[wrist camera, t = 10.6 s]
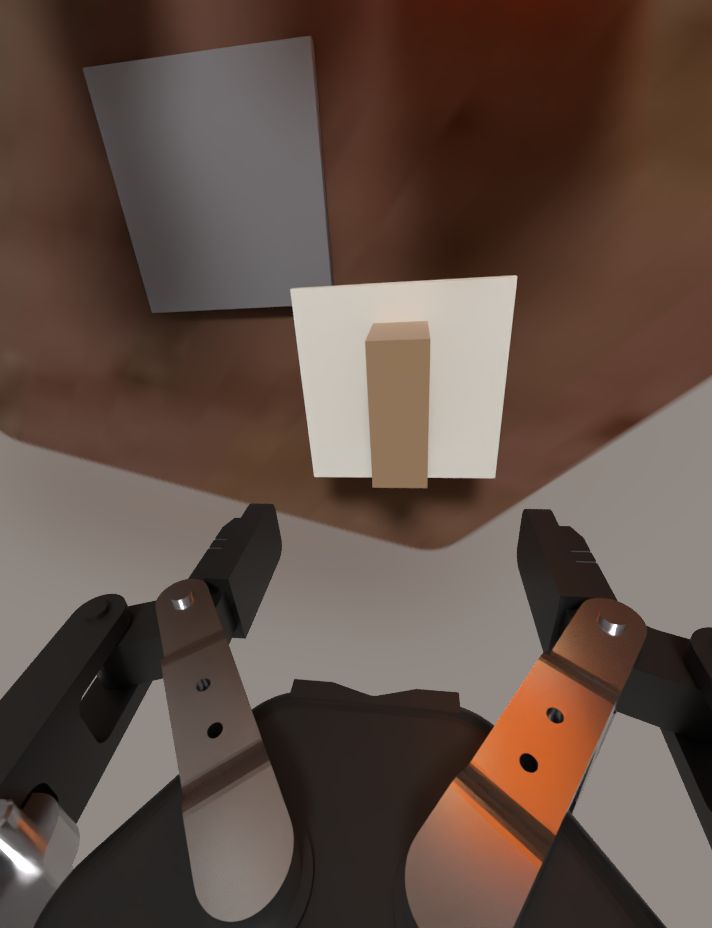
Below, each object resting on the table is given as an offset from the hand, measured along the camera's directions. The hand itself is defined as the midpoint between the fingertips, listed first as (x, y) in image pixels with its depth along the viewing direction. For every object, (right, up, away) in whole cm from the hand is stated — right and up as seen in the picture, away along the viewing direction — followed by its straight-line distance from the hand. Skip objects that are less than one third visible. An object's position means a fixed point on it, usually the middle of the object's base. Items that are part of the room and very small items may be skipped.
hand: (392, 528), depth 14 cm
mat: (-10, +19, +12) cm, 24 cm away
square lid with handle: (+2, +7, +12) cm, 14 cm away
